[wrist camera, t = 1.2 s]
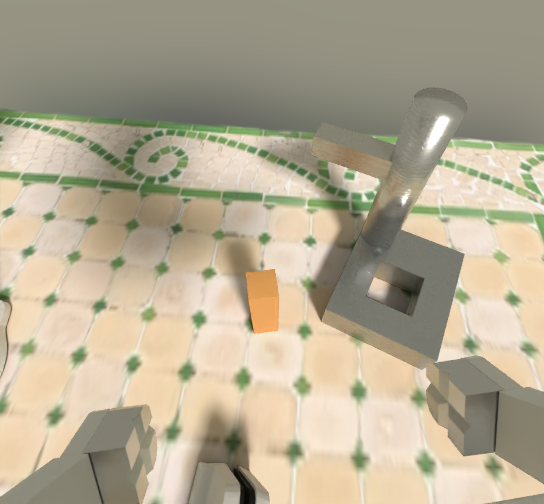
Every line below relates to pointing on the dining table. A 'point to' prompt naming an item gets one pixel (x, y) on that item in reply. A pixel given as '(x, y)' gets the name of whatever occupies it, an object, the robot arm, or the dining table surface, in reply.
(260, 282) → the orange rectangular block
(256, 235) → the dining table surface
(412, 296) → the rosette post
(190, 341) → the dining table surface
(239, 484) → the grey rounded block
